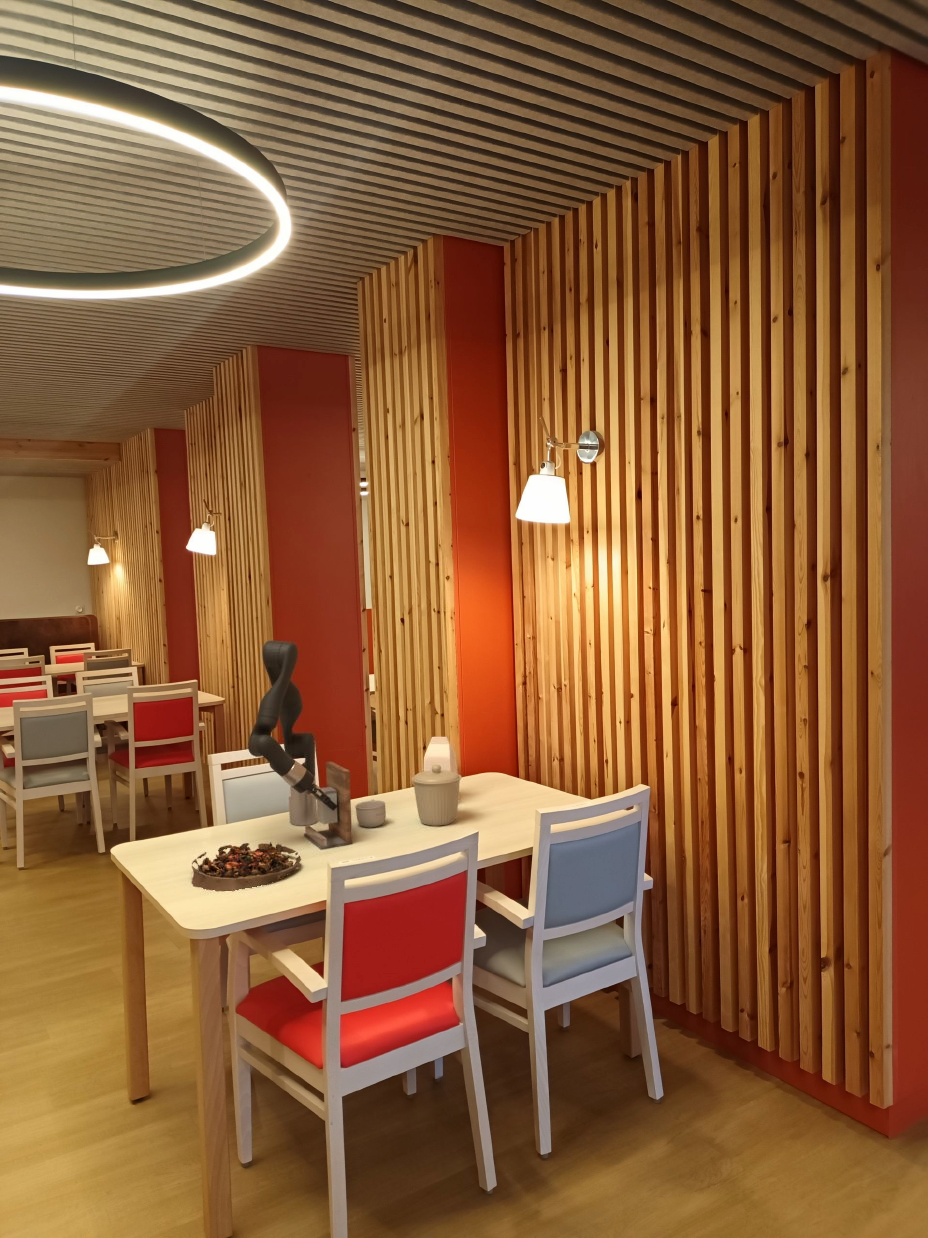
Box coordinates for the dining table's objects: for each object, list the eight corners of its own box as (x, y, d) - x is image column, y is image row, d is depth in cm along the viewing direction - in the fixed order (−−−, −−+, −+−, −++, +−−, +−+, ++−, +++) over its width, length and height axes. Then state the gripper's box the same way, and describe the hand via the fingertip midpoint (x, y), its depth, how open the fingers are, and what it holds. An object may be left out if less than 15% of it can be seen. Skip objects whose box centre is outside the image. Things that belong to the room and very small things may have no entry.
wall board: (320, 849, 301) (318, 775, 300) (304, 836, 317) (301, 765, 316) (352, 844, 306) (349, 770, 305) (334, 831, 322) (331, 761, 321)
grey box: (323, 824, 307) (322, 792, 307) (317, 820, 312) (316, 788, 312) (337, 822, 309) (336, 790, 309) (331, 818, 315) (330, 786, 314)
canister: (470, 825, 325) (468, 767, 323) (421, 831, 318) (419, 772, 317) (453, 813, 342) (451, 757, 340) (407, 819, 335) (405, 762, 334)
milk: (423, 805, 354) (420, 739, 353) (430, 798, 365) (428, 734, 364) (453, 806, 351) (450, 740, 350) (459, 799, 362) (457, 734, 361)
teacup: (381, 830, 322) (380, 807, 322) (352, 829, 324) (351, 807, 324) (392, 819, 336) (391, 798, 335) (364, 818, 338) (363, 797, 338)
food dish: (245, 853, 305) (245, 829, 304) (323, 868, 288) (323, 843, 288) (162, 882, 274) (162, 856, 274) (243, 901, 258) (243, 873, 257)
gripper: (311, 771, 300) (346, 802, 306) (298, 764, 313) (331, 793, 319) (296, 789, 298) (331, 819, 304) (283, 781, 311) (318, 810, 317)
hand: (331, 806), depth 312 cm, fingers closed on grey box, 6 cm apart
